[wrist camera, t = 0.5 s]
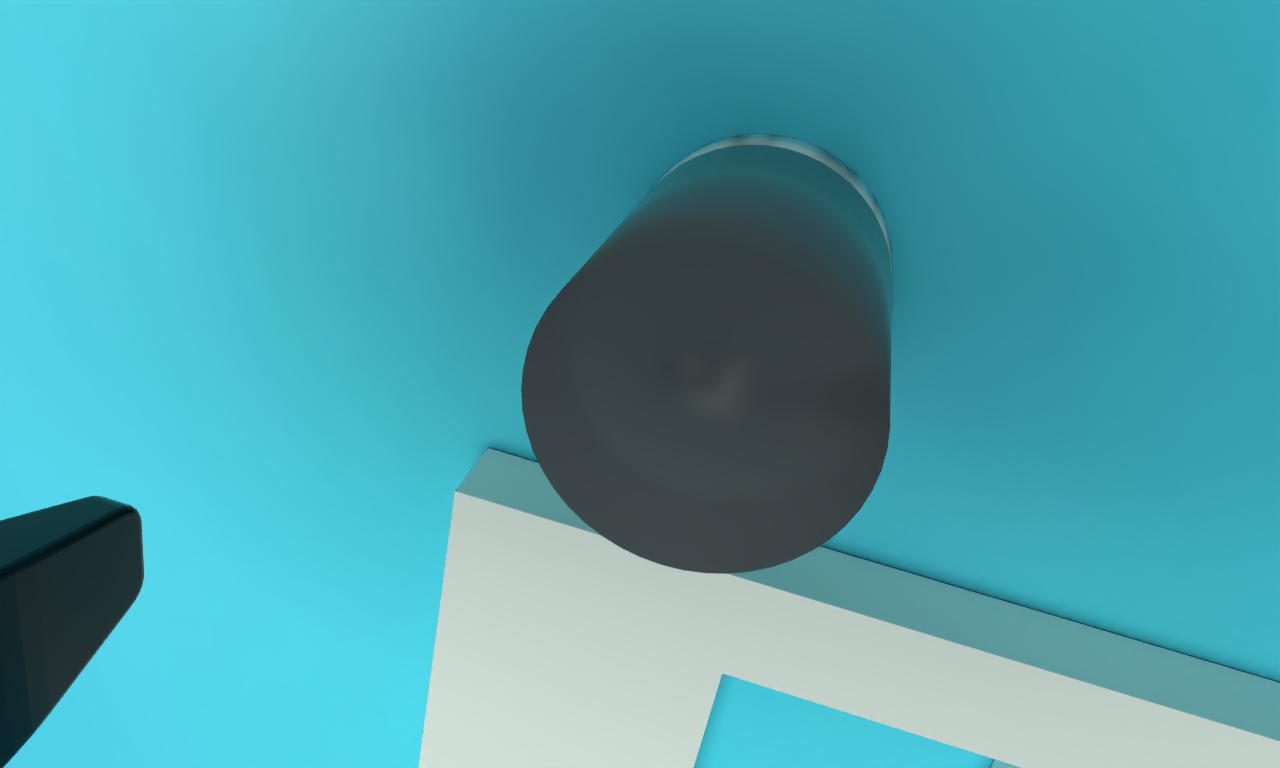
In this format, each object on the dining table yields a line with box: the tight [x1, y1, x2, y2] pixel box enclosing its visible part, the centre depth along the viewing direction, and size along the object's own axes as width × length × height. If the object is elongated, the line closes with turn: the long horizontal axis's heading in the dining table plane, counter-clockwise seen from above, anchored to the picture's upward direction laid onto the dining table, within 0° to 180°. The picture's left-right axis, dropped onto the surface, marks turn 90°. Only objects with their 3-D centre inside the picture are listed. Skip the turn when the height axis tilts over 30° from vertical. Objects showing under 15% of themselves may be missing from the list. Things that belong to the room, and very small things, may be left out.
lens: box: [522, 134, 892, 574], centre depth 17 cm, size 5×5×7 cm
